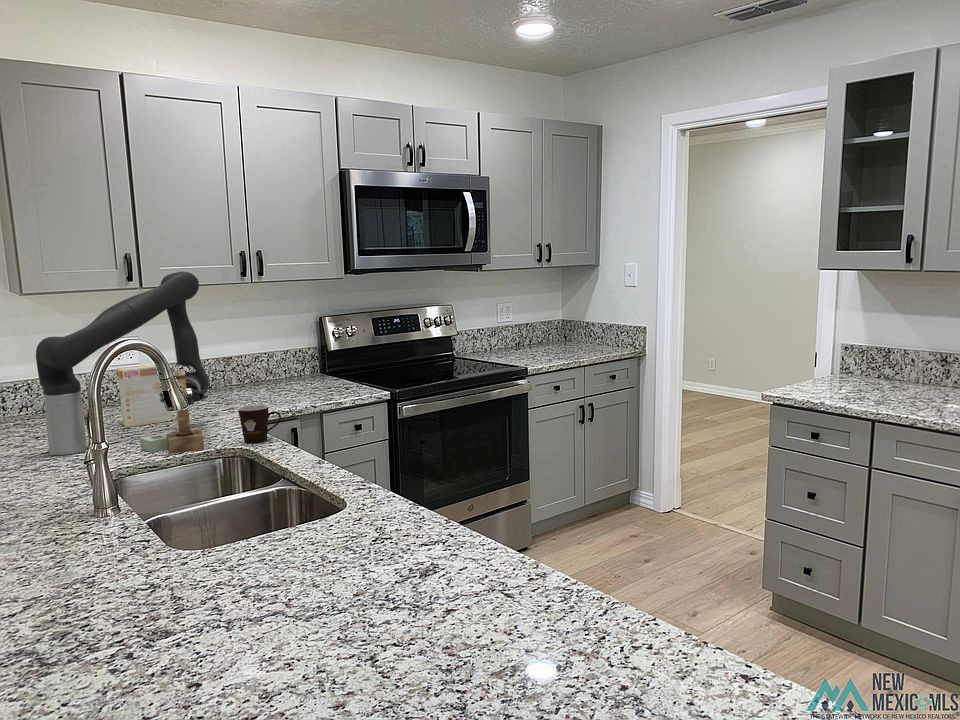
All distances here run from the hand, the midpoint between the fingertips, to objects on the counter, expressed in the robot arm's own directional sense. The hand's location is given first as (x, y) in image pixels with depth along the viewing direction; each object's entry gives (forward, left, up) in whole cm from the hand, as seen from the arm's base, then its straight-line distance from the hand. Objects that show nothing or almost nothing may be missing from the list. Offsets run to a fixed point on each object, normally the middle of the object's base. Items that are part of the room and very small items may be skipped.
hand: (180, 400), depth 201 cm
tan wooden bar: (+1, +3, -10) cm, 10 cm away
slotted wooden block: (0, +3, -14) cm, 15 cm away
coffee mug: (+20, -1, -14) cm, 25 cm away
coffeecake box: (-8, +51, -14) cm, 53 cm away
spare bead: (-7, +8, -14) cm, 18 cm away
